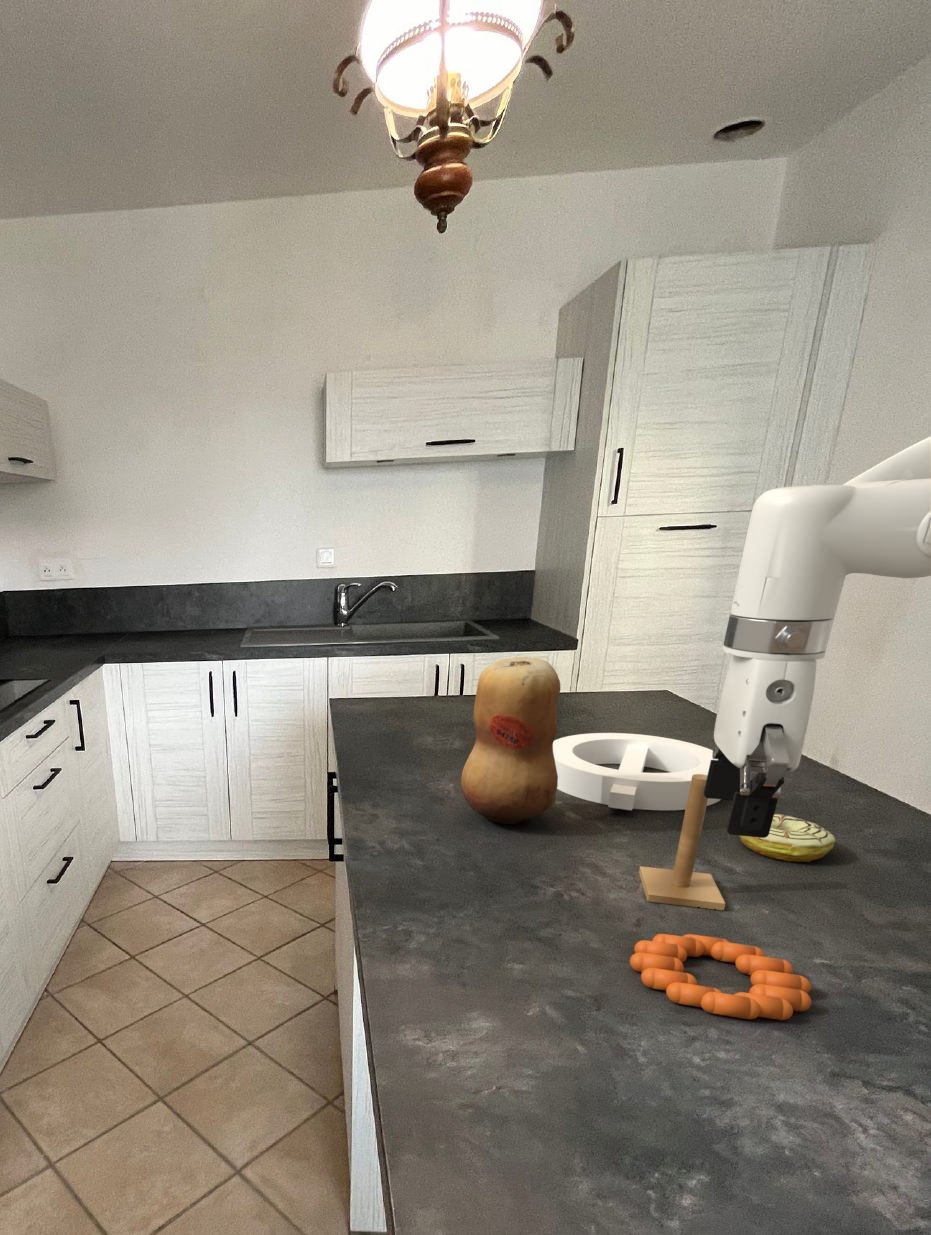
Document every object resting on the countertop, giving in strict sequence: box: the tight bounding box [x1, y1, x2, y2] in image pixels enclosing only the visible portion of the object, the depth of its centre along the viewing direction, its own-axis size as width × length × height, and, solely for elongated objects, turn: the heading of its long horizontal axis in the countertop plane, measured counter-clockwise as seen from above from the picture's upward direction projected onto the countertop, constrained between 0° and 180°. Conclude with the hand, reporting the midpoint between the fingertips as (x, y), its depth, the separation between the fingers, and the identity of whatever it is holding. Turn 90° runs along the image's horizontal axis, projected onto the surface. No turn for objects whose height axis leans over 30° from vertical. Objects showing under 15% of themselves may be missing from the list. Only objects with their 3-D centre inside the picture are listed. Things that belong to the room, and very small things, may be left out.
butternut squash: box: [460, 656, 561, 825], centre depth 108 cm, size 14×13×25 cm
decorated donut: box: [739, 813, 836, 863], centre depth 99 cm, size 10×11×4 cm
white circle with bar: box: [553, 732, 722, 811], centre depth 126 cm, size 28×28×5 cm
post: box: [638, 774, 726, 912], centre depth 87 cm, size 8×8×15 cm
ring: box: [629, 933, 812, 1021], centre depth 72 cm, size 16×13×2 cm
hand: (733, 815), depth 70 cm, fingers open, 9 cm apart
